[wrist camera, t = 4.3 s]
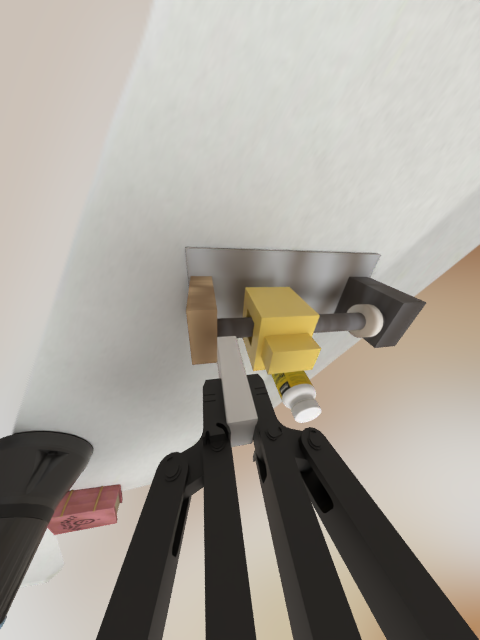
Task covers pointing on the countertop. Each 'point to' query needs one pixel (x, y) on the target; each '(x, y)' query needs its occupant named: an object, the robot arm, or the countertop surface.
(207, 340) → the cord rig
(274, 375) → the supplement bottle
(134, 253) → the countertop surface
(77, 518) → the book
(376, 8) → the countertop surface
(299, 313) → the sleeve
